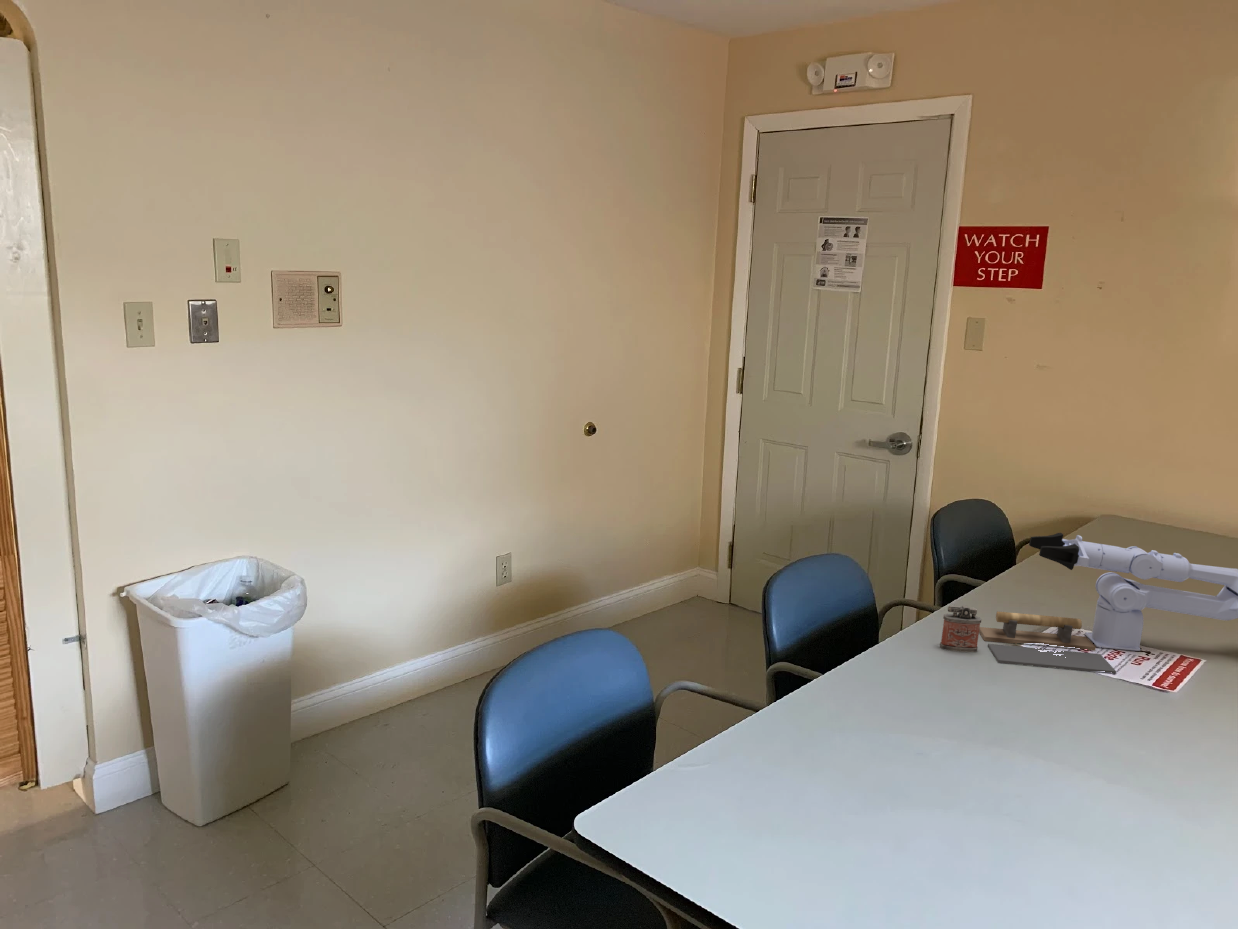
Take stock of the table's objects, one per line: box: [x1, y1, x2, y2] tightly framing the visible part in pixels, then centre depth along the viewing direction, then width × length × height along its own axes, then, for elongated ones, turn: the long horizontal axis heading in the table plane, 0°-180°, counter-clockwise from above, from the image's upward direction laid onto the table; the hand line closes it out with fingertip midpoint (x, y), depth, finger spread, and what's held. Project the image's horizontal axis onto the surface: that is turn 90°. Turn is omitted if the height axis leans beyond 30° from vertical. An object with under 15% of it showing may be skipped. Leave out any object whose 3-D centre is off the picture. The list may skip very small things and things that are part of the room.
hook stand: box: [979, 620, 1097, 651], centre depth 208 cm, size 24×6×5 cm, turn 82°
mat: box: [987, 643, 1117, 674], centre depth 198 cm, size 24×9×1 cm, turn 82°
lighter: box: [939, 604, 983, 653], centre depth 201 cm, size 8×3×10 cm, turn 84°
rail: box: [995, 611, 1083, 630], centre depth 208 cm, size 18×2×2 cm, turn 82°
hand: (1035, 546), depth 207 cm, fingers open, 7 cm apart
